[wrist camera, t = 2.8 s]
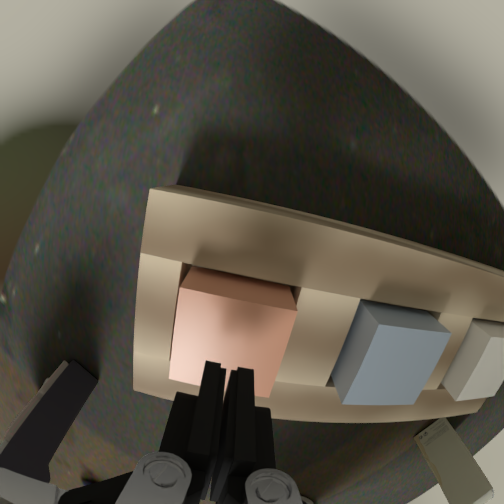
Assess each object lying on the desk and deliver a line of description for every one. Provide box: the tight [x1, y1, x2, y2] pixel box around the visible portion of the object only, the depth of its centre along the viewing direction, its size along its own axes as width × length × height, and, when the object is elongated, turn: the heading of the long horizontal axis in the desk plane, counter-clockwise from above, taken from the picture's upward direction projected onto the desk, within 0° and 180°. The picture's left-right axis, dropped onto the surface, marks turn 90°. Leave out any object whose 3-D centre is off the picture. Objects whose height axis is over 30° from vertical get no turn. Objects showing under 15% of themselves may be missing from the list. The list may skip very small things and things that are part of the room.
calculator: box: [0, 360, 98, 483], centre depth 15 cm, size 11×4×15 cm, turn 136°
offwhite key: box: [441, 318, 504, 401], centre depth 15 cm, size 5×5×3 cm
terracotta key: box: [169, 266, 298, 398], centre depth 14 cm, size 5×5×3 cm
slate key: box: [331, 299, 452, 405], centre depth 15 cm, size 5×5×3 cm
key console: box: [133, 185, 504, 423], centre depth 18 cm, size 12×28×5 cm, turn 77°
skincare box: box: [414, 417, 494, 504], centre depth 19 cm, size 6×4×12 cm
